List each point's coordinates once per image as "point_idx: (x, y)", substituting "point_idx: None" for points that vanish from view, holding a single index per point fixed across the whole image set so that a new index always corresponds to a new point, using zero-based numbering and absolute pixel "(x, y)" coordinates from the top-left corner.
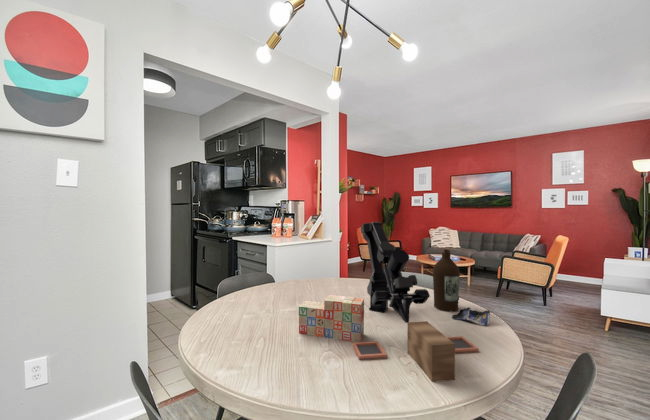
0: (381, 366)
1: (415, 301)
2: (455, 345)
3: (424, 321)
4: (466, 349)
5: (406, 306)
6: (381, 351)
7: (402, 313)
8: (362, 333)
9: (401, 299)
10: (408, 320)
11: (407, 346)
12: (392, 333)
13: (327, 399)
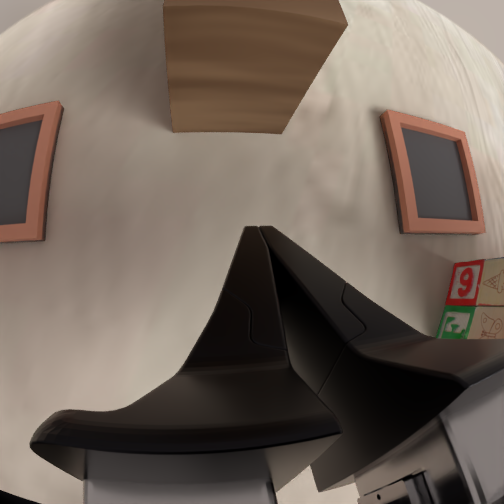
0: (398, 82)
1: None
2: (9, 168)
3: (188, 3)
4: (5, 113)
5: (271, 331)
6: (402, 142)
7: (326, 267)
8: (452, 323)
9: (440, 369)
10: (249, 227)
11: (290, 117)
12: None
13: (473, 48)
